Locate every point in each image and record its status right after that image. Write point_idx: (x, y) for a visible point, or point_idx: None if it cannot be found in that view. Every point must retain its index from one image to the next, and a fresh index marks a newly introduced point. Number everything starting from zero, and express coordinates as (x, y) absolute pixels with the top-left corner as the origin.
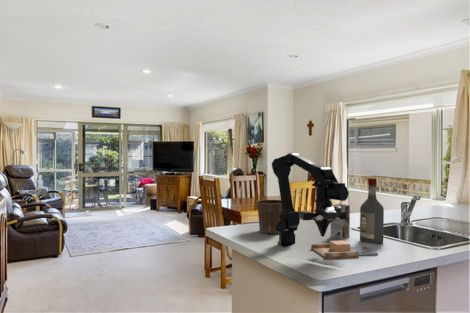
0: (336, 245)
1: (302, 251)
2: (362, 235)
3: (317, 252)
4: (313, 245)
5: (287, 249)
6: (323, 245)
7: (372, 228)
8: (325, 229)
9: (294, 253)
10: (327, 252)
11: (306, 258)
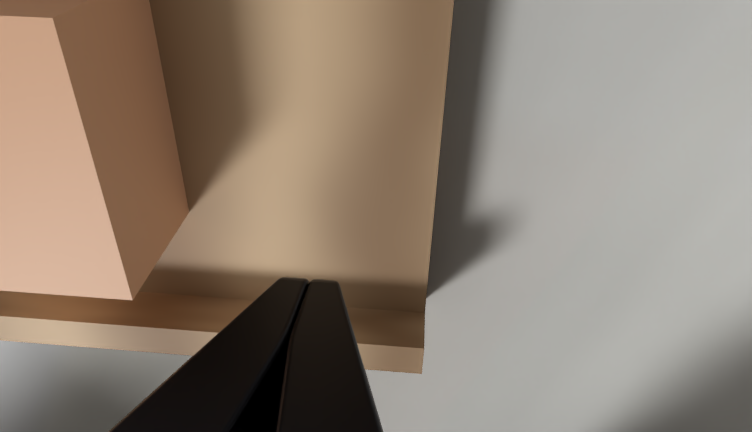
0: (62, 11)
1: (543, 312)
2: None
3: (439, 135)
4: (403, 337)
5: (675, 404)
6: None
7: None
8: (173, 428)
9: (708, 264)
10: (290, 59)
11: (712, 2)
